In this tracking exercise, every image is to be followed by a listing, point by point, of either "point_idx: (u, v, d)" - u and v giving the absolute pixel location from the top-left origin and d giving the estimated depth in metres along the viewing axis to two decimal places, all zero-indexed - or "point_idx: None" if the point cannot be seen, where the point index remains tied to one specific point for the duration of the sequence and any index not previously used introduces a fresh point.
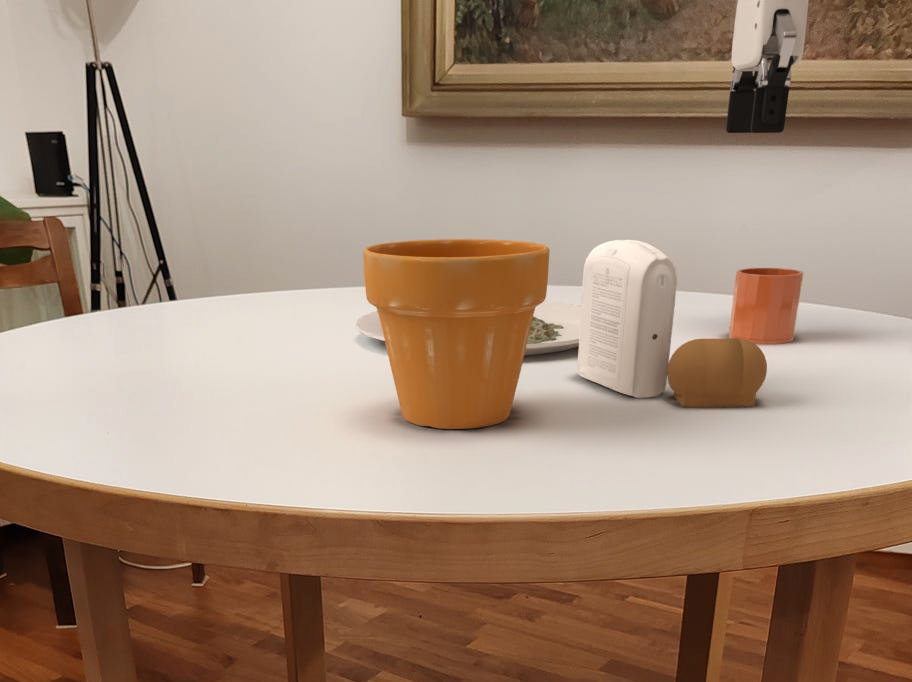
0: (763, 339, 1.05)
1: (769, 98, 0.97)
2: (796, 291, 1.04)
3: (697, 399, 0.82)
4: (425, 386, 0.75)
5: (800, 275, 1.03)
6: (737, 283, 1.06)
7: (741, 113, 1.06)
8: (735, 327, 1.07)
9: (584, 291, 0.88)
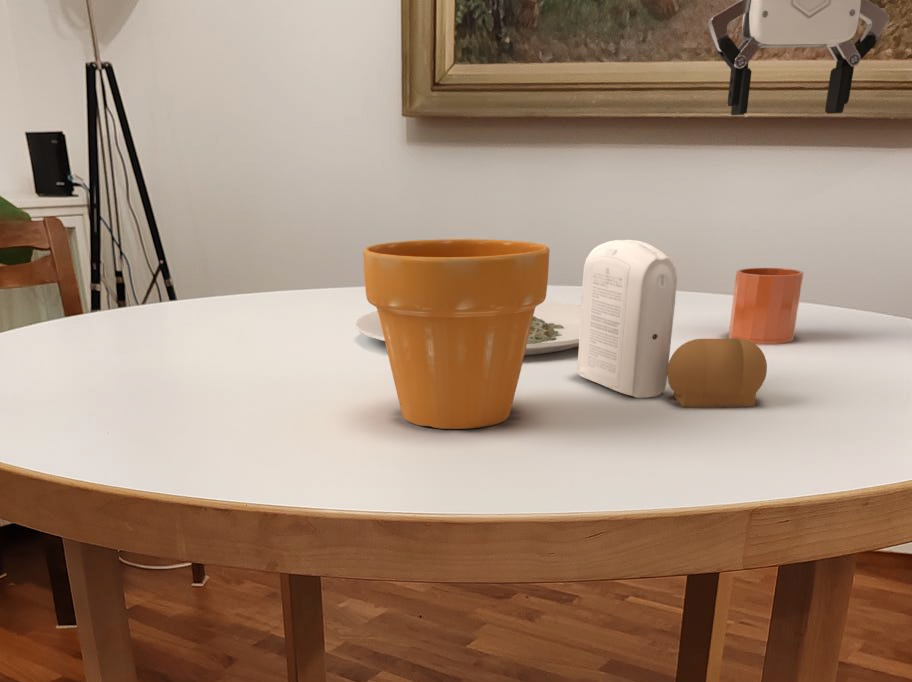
0: (763, 339, 1.05)
1: (730, 81, 0.98)
2: (796, 291, 1.04)
3: (697, 399, 0.82)
4: (425, 386, 0.75)
5: (800, 275, 1.03)
6: (737, 283, 1.06)
7: (831, 92, 0.98)
8: (735, 327, 1.07)
9: (584, 291, 0.88)
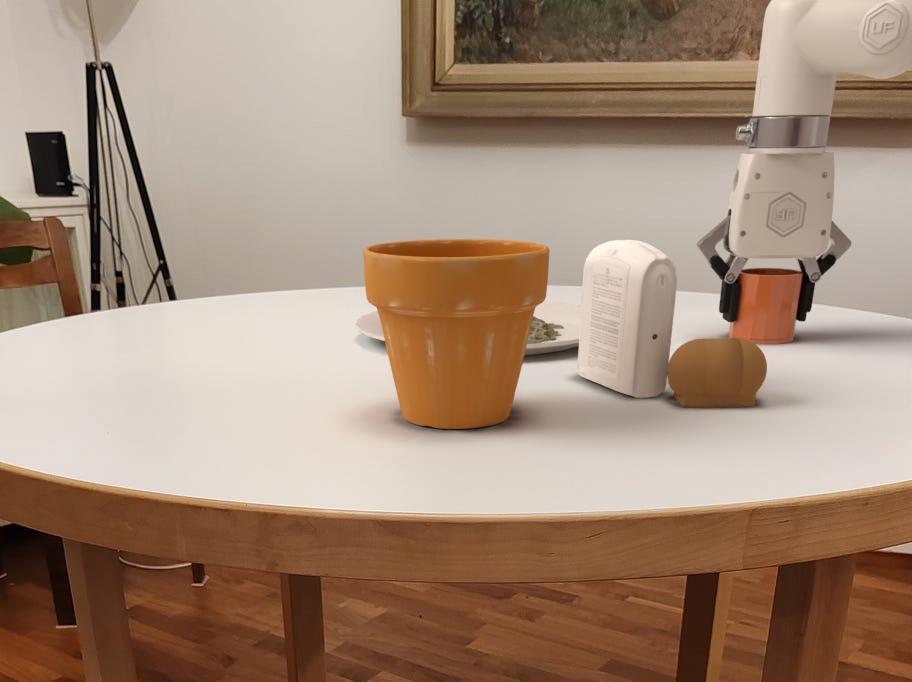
0: (763, 339, 1.05)
1: (721, 291, 1.07)
2: (796, 291, 1.04)
3: (697, 399, 0.82)
4: (425, 386, 0.75)
5: (800, 275, 1.03)
6: None
7: None
8: (735, 327, 1.07)
9: (584, 291, 0.88)
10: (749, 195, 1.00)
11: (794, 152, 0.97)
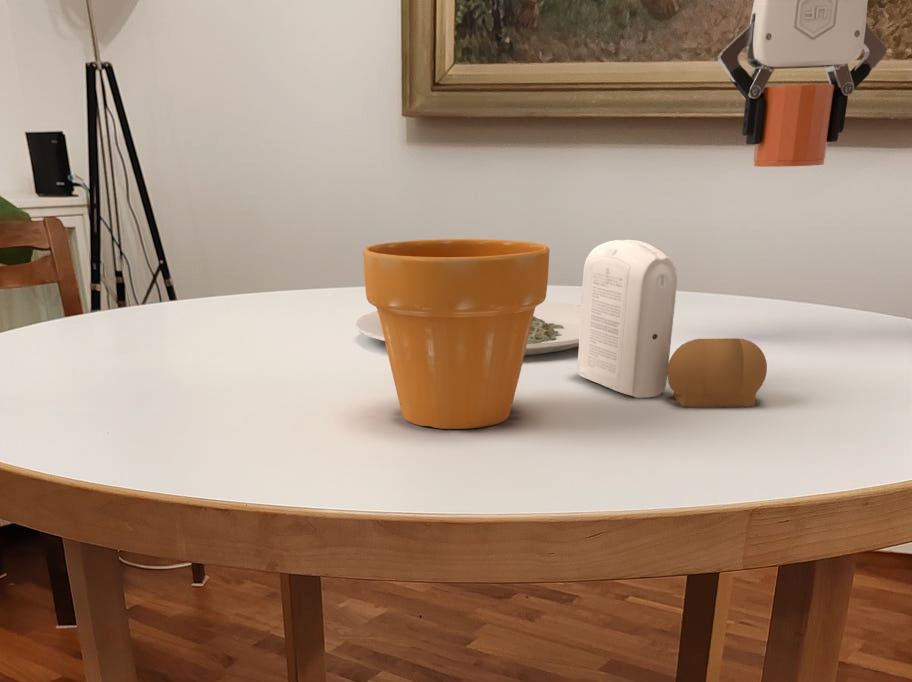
0: (791, 160, 0.97)
1: (745, 110, 0.98)
2: (827, 104, 0.95)
3: (697, 399, 0.82)
4: (425, 386, 0.75)
5: (831, 86, 0.95)
6: None
7: None
8: (760, 150, 0.98)
9: (584, 291, 0.88)
10: None
11: None
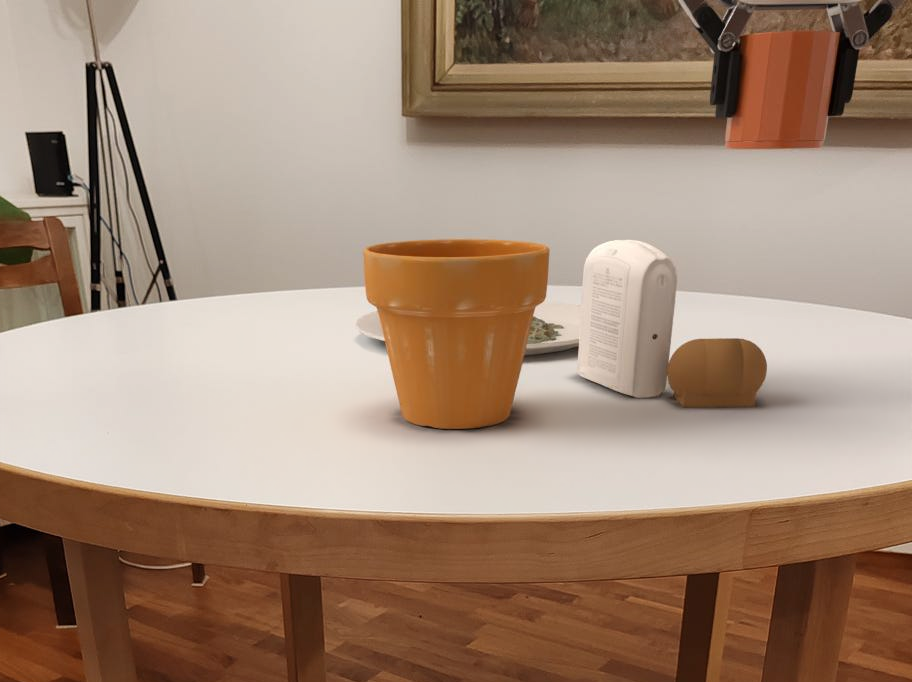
0: (777, 140, 0.68)
1: (714, 69, 0.69)
2: (830, 60, 0.66)
3: (697, 399, 0.82)
4: (425, 386, 0.75)
5: (836, 34, 0.66)
6: None
7: None
8: (734, 126, 0.70)
9: (584, 291, 0.88)
10: None
11: None
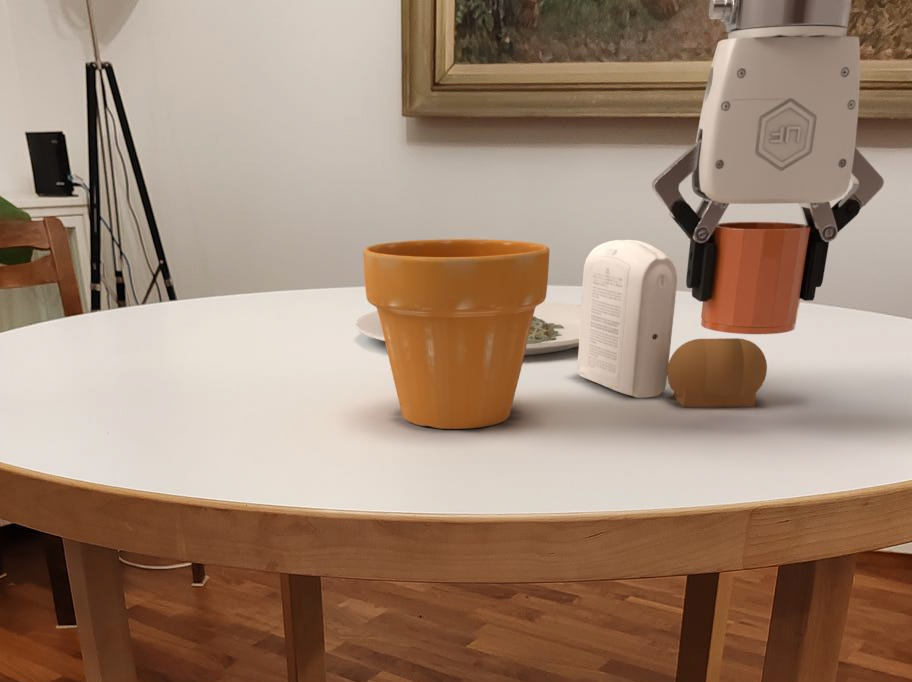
0: (751, 326, 0.71)
1: (690, 255, 0.72)
2: (800, 254, 0.69)
3: (697, 399, 0.82)
4: (425, 386, 0.75)
5: (806, 230, 0.69)
6: None
7: None
8: (709, 309, 0.72)
9: (584, 291, 0.88)
10: (728, 104, 0.65)
11: (798, 33, 0.62)
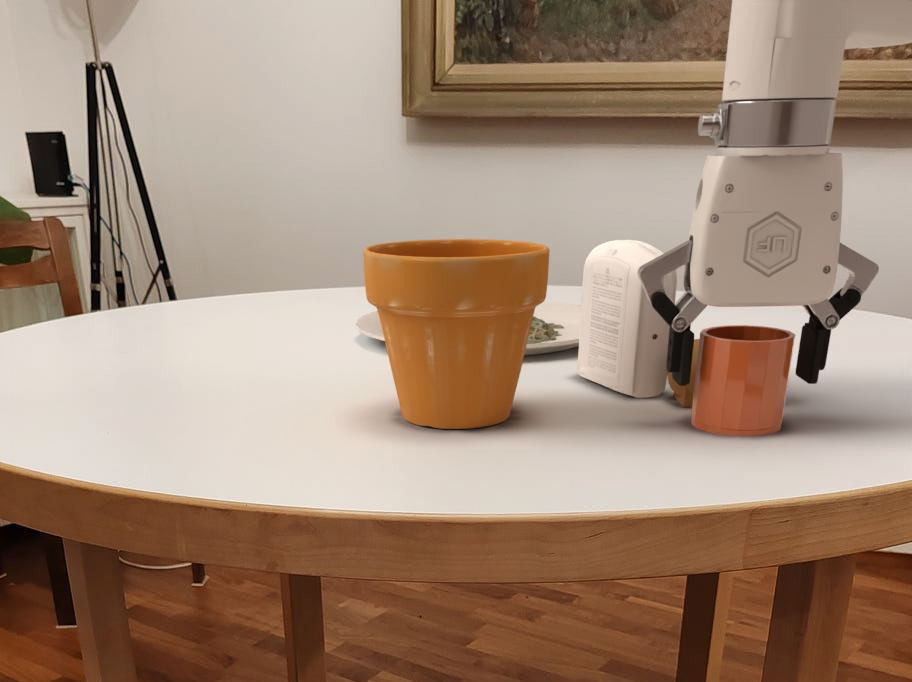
0: (738, 429, 0.74)
1: (669, 341, 0.75)
2: (785, 362, 0.73)
3: None
4: (425, 386, 0.75)
5: (790, 340, 0.72)
6: (701, 349, 0.74)
7: (803, 354, 0.75)
8: (699, 410, 0.76)
9: (584, 291, 0.88)
10: (717, 217, 0.68)
11: (783, 153, 0.65)
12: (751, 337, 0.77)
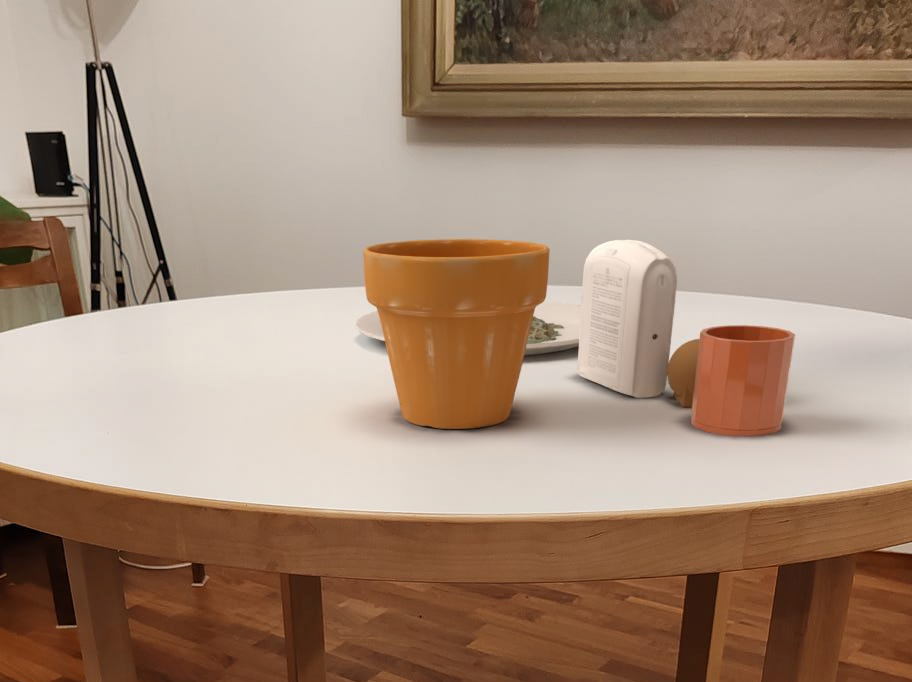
0: (738, 429, 0.74)
1: None
2: (785, 362, 0.73)
3: None
4: (425, 386, 0.75)
5: (790, 340, 0.72)
6: (701, 349, 0.74)
7: None
8: (699, 410, 0.76)
9: (584, 291, 0.88)
10: None
11: None
12: (751, 337, 0.77)
